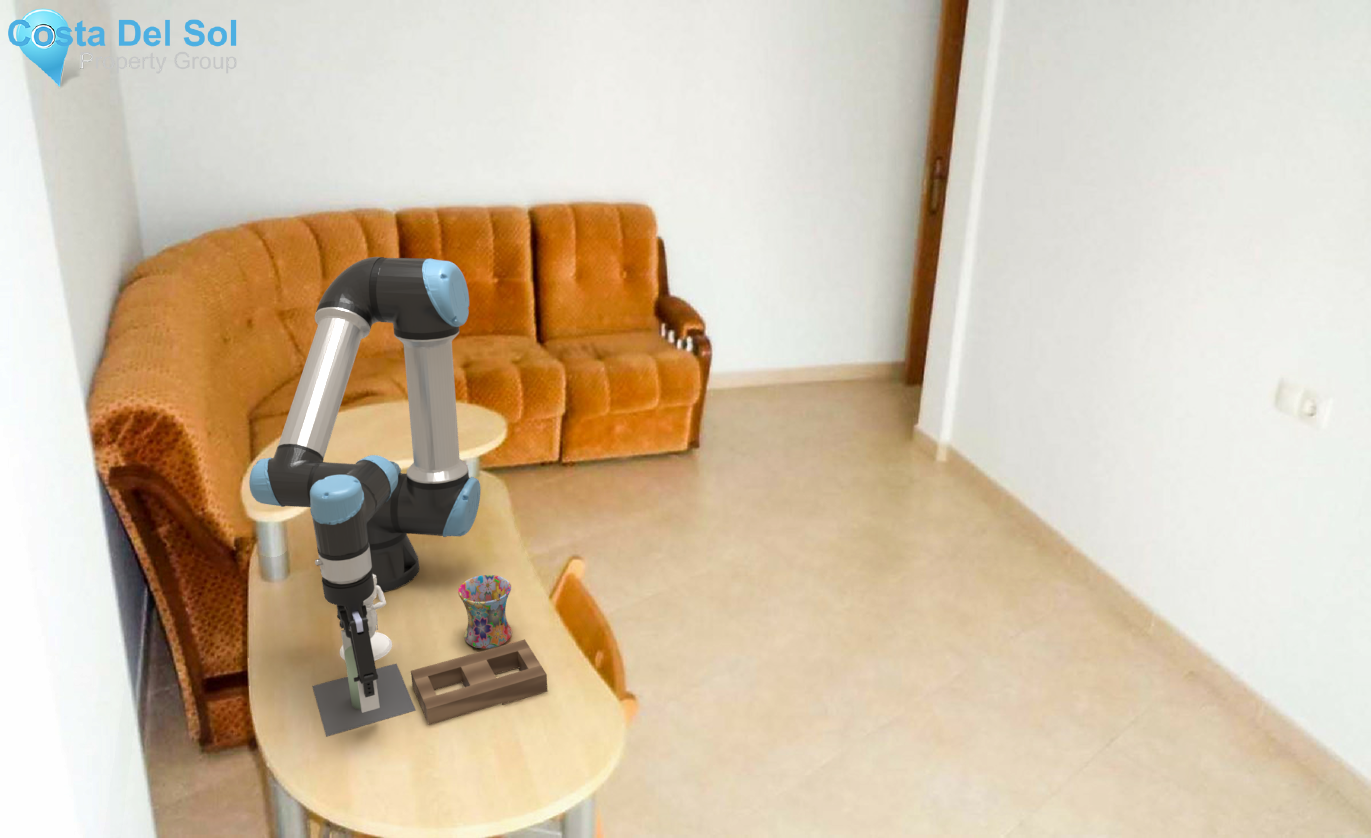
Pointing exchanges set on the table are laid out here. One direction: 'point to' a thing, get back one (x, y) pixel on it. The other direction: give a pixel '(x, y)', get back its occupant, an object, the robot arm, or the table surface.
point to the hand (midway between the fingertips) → (362, 684)
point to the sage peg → (352, 677)
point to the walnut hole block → (478, 681)
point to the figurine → (378, 640)
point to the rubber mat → (345, 717)
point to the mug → (486, 610)
